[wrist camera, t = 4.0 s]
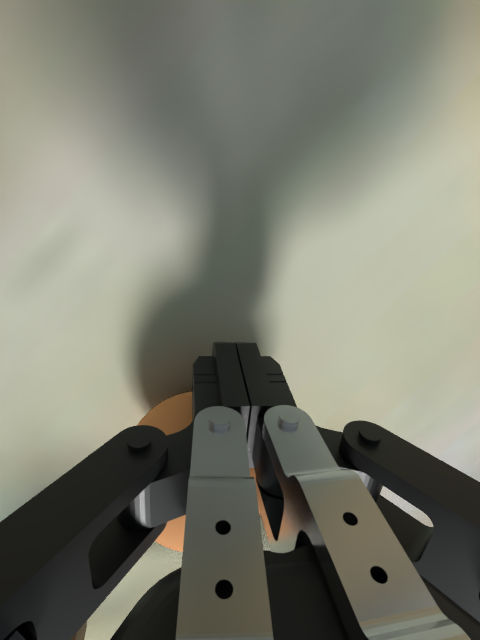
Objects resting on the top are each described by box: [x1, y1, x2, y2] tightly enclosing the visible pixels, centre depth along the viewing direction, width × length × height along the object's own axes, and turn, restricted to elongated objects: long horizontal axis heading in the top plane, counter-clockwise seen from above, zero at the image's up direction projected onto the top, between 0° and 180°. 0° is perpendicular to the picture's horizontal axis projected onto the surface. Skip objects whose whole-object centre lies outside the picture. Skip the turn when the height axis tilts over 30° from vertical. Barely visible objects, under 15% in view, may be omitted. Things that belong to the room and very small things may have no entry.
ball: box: [137, 392, 260, 552], centre depth 14 cm, size 6×6×6 cm
